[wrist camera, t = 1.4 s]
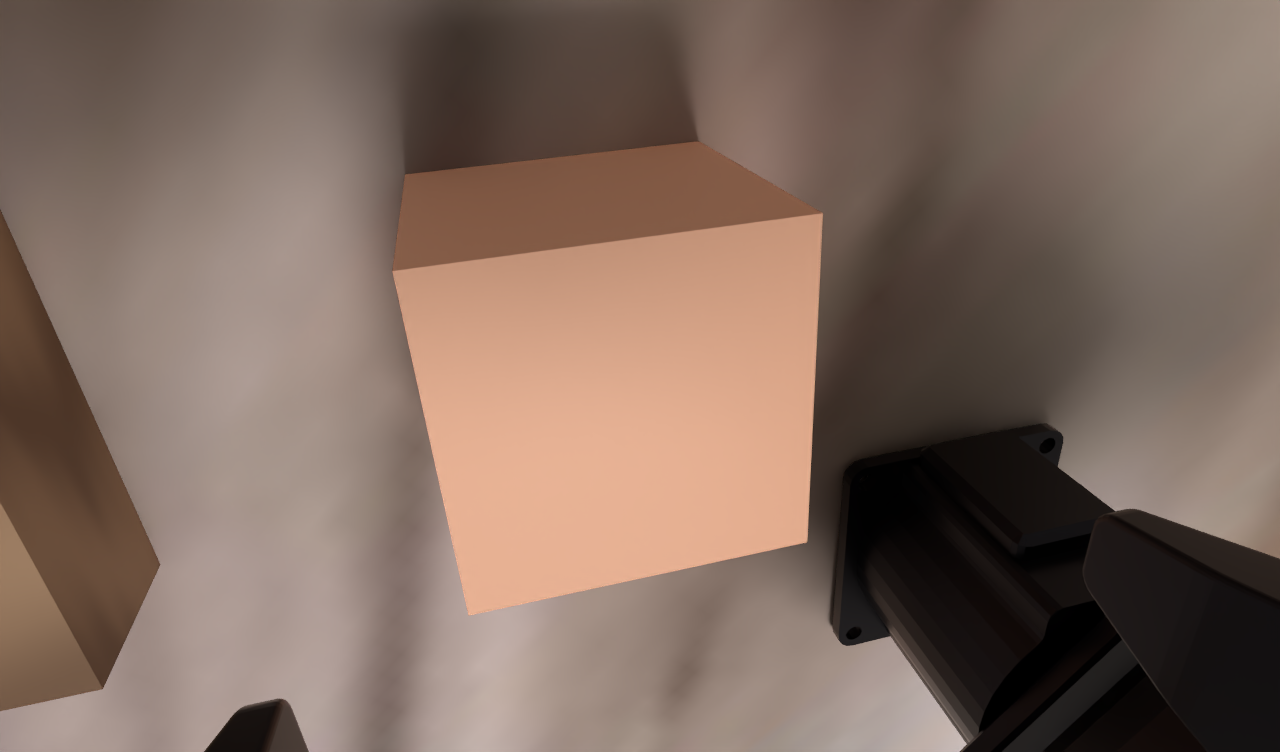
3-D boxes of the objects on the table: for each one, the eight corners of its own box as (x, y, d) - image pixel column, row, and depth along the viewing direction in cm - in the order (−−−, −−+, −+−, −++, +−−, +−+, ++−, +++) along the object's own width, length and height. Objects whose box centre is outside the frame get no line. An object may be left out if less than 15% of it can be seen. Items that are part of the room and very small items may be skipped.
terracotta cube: (704, 390, 19) (807, 541, 14) (457, 433, 18) (468, 615, 13) (697, 140, 16) (822, 212, 11) (405, 173, 15) (392, 270, 10)
